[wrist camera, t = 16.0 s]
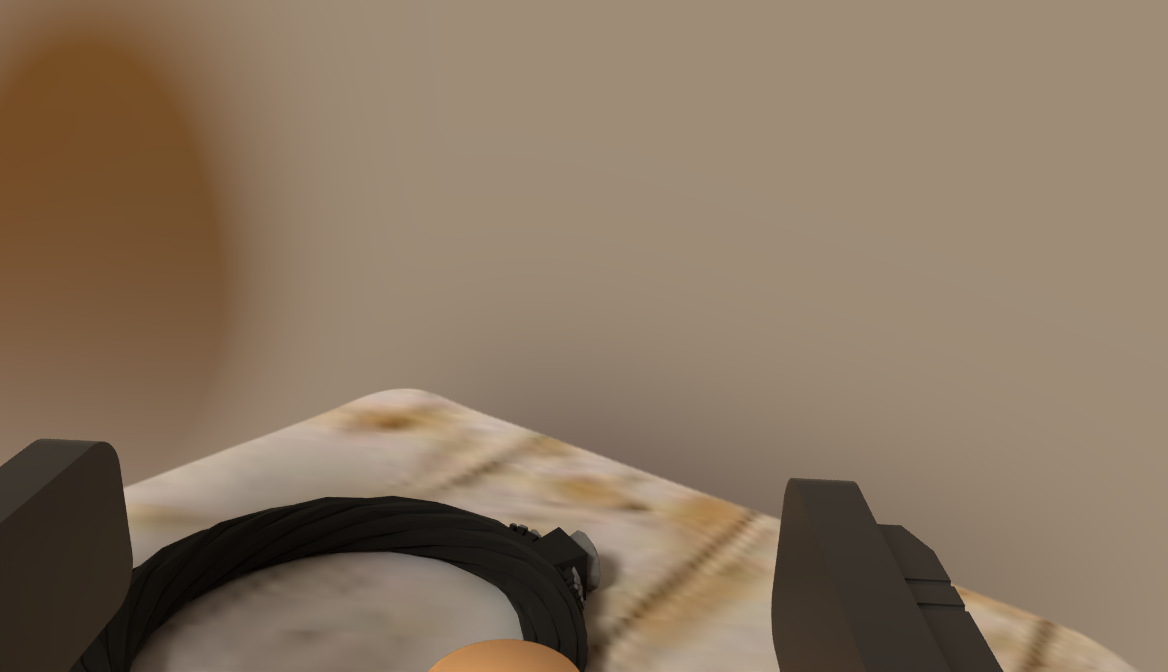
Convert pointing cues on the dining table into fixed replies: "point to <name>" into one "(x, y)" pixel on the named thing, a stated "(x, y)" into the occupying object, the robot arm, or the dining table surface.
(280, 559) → the cable lock
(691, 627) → the dining table surface
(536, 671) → the tube
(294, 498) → the dining table surface
